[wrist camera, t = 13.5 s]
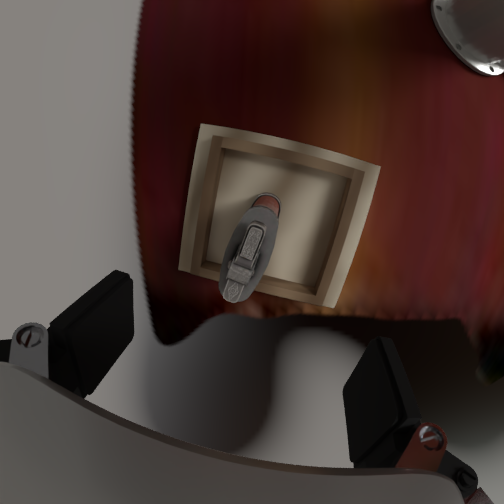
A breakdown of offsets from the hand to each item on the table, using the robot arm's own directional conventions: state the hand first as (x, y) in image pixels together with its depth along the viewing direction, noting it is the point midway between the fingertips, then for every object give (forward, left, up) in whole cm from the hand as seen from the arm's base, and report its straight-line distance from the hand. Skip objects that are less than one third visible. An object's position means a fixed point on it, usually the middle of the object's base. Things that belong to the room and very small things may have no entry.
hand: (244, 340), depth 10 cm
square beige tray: (0, 0, -20) cm, 20 cm away
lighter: (+1, +2, -19) cm, 19 cm away
